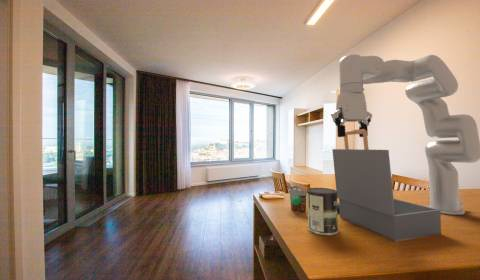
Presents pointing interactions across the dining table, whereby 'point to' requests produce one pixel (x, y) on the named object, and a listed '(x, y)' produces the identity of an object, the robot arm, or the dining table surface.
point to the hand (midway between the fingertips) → (352, 136)
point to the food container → (297, 199)
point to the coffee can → (322, 211)
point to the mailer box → (395, 220)
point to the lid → (364, 176)
